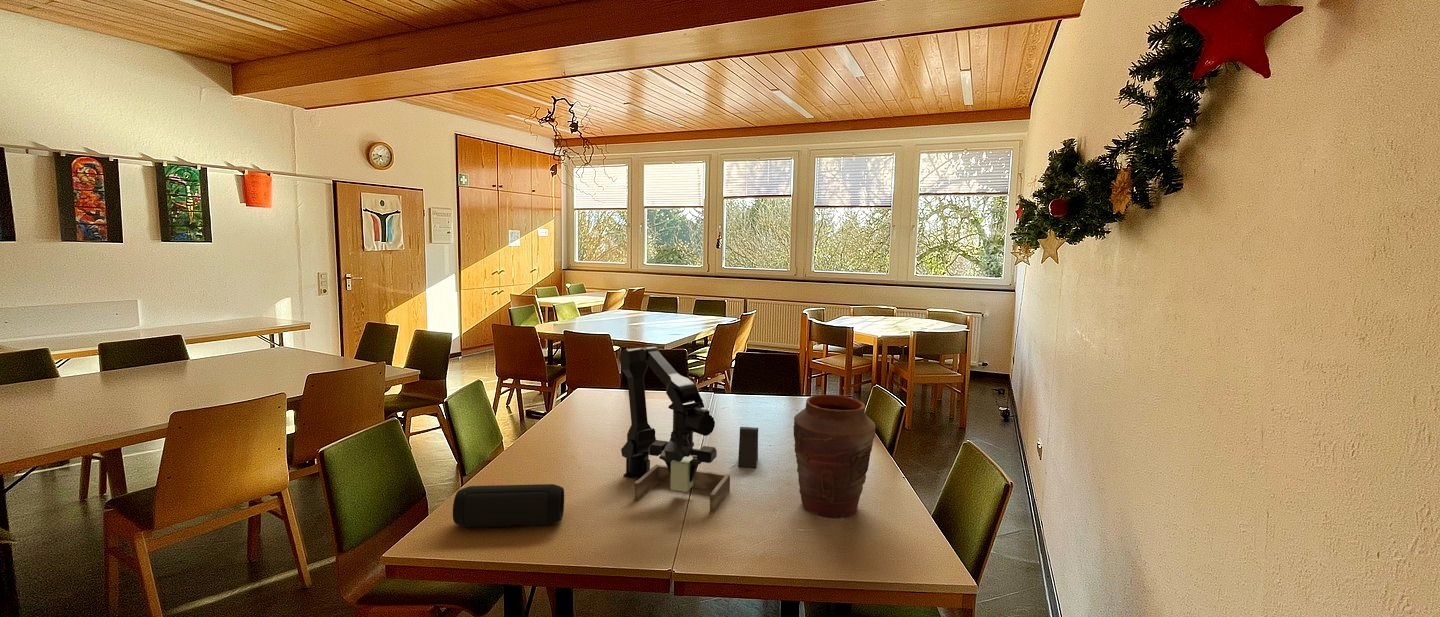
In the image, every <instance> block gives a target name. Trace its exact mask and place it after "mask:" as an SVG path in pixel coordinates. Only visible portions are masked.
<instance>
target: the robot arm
mask: <svg viewBox="0 0 1440 617" xmlns="http://www.w3.org/2000/svg"><path fill="white" fill-rule="evenodd" d="M618 360H619V363H620V367H621V368H620V369H621V371H622V372H623V374H624V376H626V378H627V386H628V387H627V388H628V400H629V409H630V410H629V411H630V421H631V423H630V424H631V425H630V427H629V429H628V431H627V434H626V443H625V444H624V445H623V446H622V447H621V450H620V451H621V456H622V457H624V458H625V465H626V466H625V472H624V474H623V477H627V478H634V479H638V480H639V479H640V478H641V477H642V476H643V475H644V474H646V473H647V472H648V471H649V470H650V469H651V460H650V459H649V456H654V457H659V459H660V460H662V461H664V462H665V466H667V467H668V469H669V472H670V475H671V461H672V460H674V461H677V462H680V461H682V459H683V457H688V458H690V456H691V458H693V459H692V460H691V461H690V465H691V467H690V482H692V480H693V478H694V475H695V473H696V470H698V467H699V465H700V464H701V463H705V464H709V463H712V462H713V461H714V460H715V459H717V455H718V450H717V449H716V447H715V446H709V445H703V446H702V447H700V448H698V449H697V448H694V446H695V442H694V433H696V434H699V435H701V436H704V437H706V436H709V435H710V434H712V432H713V431H714V429H715V426H716V421H715V419H714V417H713V416H712V415H711V414H710V410H708V409H705V405H704V401H703V400H704V399H702V397H701V394H700V393H699V390H698V386H697V385H696V384H695V383H694V382H693V381H692V380H691V379H690V378H688V377H686V376H683V375H681V374H680V373H678V372H677V370H676V369H675V368H673V366H672V365H671V364H670V363H669V362H668V361H667V359H666V358H665V357H664V356H663V355H662V353H661V352H660V349H659V348H658V347H657V346H646V347H635V348H626V349H623V350H622V351H621V353H620V354H619V356H618ZM648 367H649V368H650V370H651V371H652V372H653V373H654V374H655V375H656V376H657V377H658V378H659V380H660V381H661V382H662V383H663V385H664V386H665V393H666V395H667V397H668V398H669V400H670V402H671V404H669V405H668V407H667V408H668V409H669V410H672V431H671V432H670V439H669V441H668V440H661V439H657V436H656V430H655V428H654V427H653V428H652V427H651V426H650V424H649V421H648V413H647V412H648V410H647V403H646V402H647V401H646V390H645V389H646V388H645V378H644V377H645V374H646V372H647V370H648Z"/></svg>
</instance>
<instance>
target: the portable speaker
mask: <svg viewBox="0 0 1440 617" xmlns="http://www.w3.org/2000/svg"><path fill="white" fill-rule="evenodd" d="M564 511H565V490H564V487H562V486H560V485H557V484H553V483H552V484H551V483H550V484H549V483H546V484H545V483H543V484H541V483H540V484H539V483H538V484H504V485H502V484H501V485H499V484H498V485H469V486H466V487H463V488H460V489H458V491H457V492H456V493H455V495H454V500H453V505H452V519H453V522H454V524H455V525H457V526H460V527H464V528H488V527H489V528H491V527H522V526H524V527H525V526H527V527H528V526H552V525H554V524H556V523H559V522H561V521H562V520H563V516H564Z"/></svg>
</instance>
